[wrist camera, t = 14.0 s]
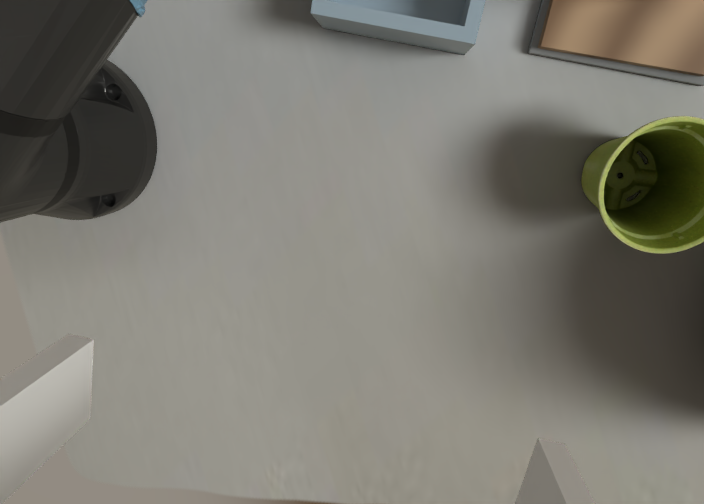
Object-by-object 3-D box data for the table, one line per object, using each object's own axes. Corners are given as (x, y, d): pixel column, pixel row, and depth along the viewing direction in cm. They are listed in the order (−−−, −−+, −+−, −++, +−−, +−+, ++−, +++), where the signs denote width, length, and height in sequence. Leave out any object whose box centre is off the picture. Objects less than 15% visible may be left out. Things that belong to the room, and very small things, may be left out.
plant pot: (537, 169, 42) (571, 182, 34) (632, 92, 40) (694, 85, 31) (601, 248, 43) (650, 279, 35) (698, 178, 41) (774, 193, 33)
